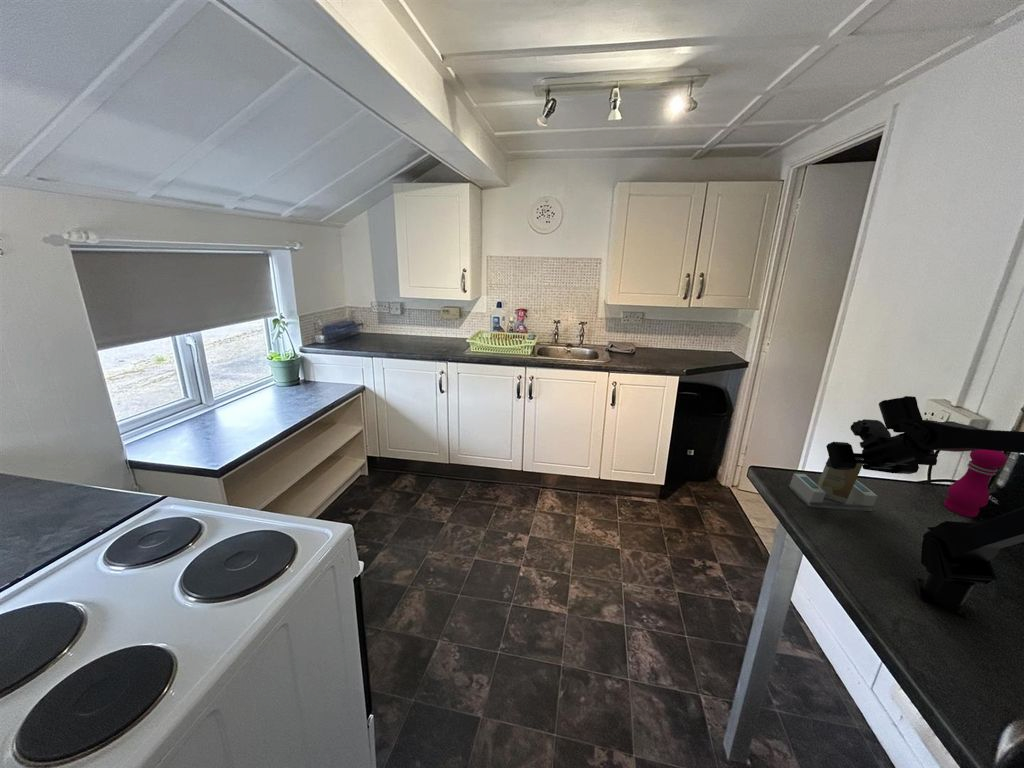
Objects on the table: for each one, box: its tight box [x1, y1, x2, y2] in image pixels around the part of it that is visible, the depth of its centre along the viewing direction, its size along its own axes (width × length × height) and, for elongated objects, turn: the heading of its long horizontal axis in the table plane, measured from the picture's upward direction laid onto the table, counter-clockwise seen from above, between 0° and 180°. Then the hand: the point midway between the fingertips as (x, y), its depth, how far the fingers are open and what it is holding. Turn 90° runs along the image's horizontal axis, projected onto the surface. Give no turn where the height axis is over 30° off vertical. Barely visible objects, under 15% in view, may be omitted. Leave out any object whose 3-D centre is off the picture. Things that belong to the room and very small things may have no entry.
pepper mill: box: [943, 449, 1008, 518], centre depth 104 cm, size 7×7×20 cm
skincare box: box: [816, 457, 863, 504], centre depth 107 cm, size 6×4×12 cm
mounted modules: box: [790, 472, 878, 507], centre depth 108 cm, size 16×8×4 cm, turn 88°
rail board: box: [788, 481, 875, 512], centre depth 109 cm, size 16×9×1 cm, turn 88°
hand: (845, 465), depth 105 cm, fingers open, 9 cm apart
